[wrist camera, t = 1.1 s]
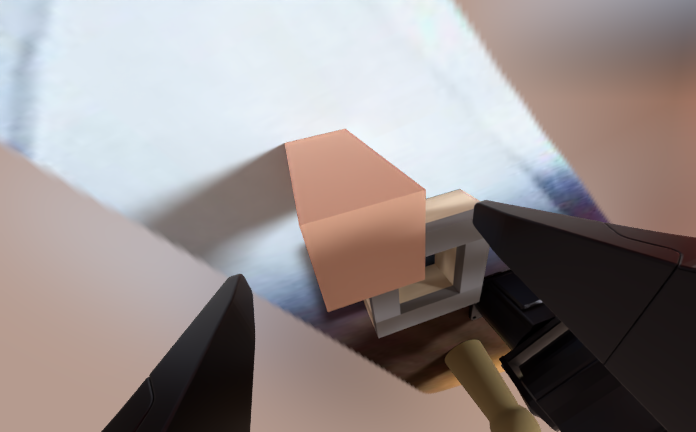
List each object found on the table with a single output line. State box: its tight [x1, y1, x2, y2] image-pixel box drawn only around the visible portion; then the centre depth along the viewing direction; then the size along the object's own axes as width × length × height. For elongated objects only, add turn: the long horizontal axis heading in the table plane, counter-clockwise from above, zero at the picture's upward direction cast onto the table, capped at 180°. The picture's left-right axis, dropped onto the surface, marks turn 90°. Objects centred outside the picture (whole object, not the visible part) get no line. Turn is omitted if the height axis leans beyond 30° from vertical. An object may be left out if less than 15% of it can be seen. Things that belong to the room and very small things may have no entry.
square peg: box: [285, 129, 426, 312], centre depth 13 cm, size 4×4×10 cm
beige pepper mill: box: [445, 340, 541, 432], centre depth 32 cm, size 6×6×11 cm
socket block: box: [364, 189, 490, 338], centre depth 21 cm, size 10×10×4 cm
